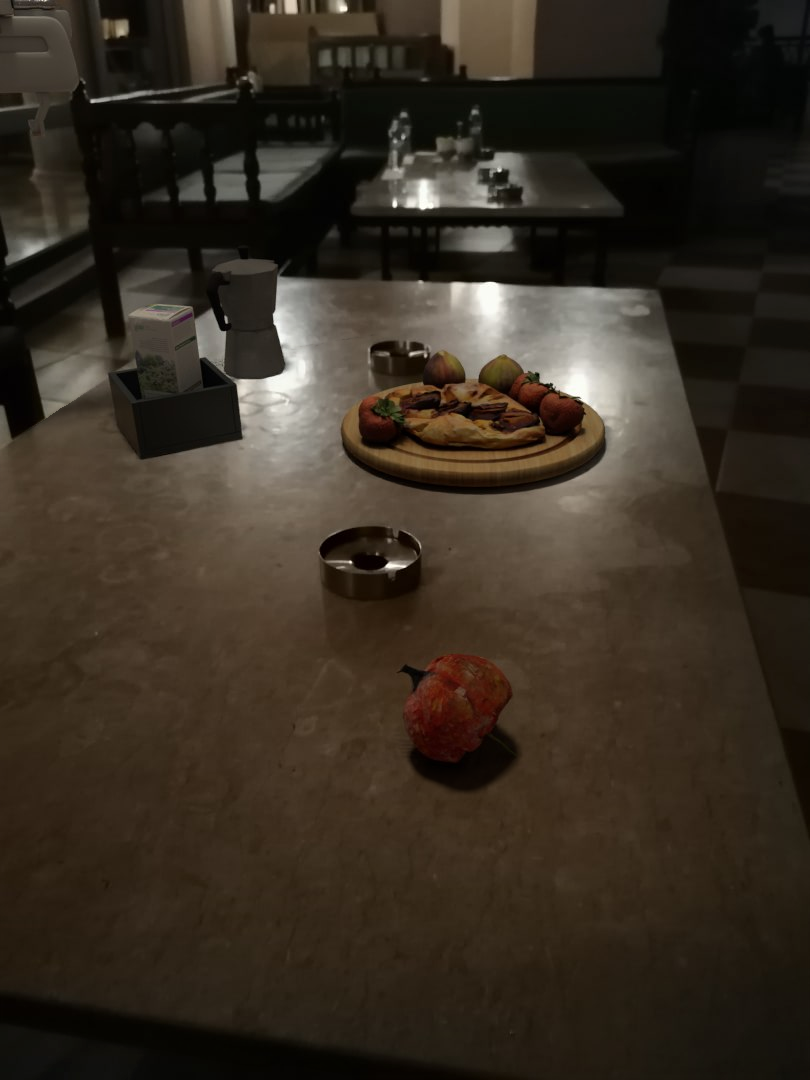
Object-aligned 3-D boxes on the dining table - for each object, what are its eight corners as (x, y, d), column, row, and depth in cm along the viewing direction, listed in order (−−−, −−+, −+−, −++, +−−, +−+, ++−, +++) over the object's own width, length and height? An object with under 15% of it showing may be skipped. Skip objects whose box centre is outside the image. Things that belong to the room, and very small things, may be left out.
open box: (140, 459, 107) (131, 403, 103) (117, 425, 117) (107, 372, 113) (242, 438, 112) (236, 384, 109) (211, 407, 122) (205, 356, 118)
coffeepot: (254, 353, 143) (243, 234, 134) (305, 361, 139) (297, 239, 130) (192, 383, 131) (175, 254, 122) (246, 392, 127) (233, 260, 118)
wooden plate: (369, 509, 95) (366, 435, 91) (323, 405, 122) (319, 345, 118) (651, 475, 101) (660, 405, 97) (547, 383, 128) (550, 325, 124)
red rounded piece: (505, 739, 66) (403, 649, 66) (567, 699, 61) (457, 601, 61) (465, 815, 61) (354, 718, 61) (529, 778, 56) (408, 671, 56)
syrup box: (209, 418, 115) (195, 304, 108) (184, 435, 111) (168, 317, 104) (170, 413, 117) (153, 301, 110) (144, 429, 112) (125, 313, 105)
